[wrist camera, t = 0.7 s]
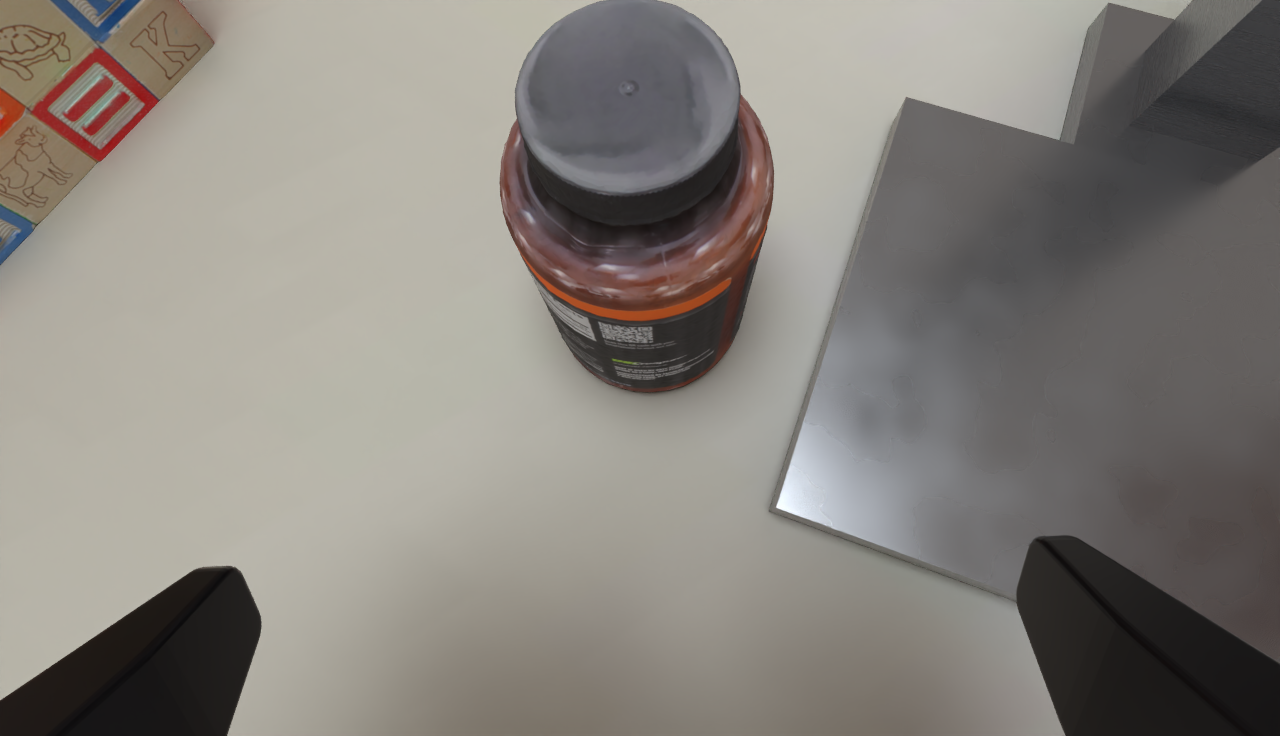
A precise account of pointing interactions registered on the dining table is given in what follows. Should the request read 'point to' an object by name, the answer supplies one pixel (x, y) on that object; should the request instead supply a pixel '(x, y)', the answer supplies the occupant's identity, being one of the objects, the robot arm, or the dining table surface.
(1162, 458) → the arbor press
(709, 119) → the supplement bottle
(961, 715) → the dining table surface
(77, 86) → the stack of blocks
